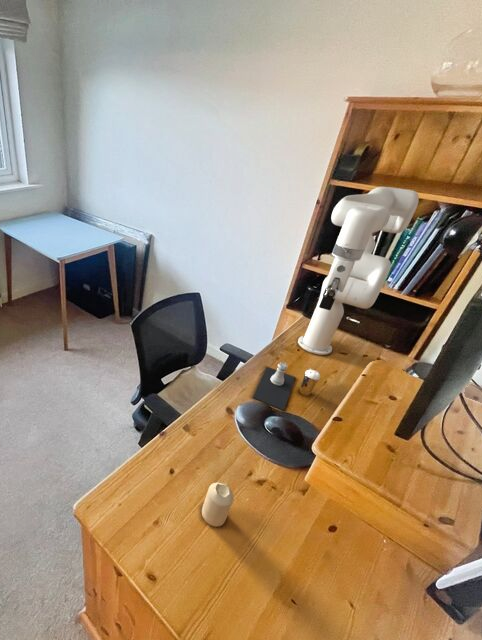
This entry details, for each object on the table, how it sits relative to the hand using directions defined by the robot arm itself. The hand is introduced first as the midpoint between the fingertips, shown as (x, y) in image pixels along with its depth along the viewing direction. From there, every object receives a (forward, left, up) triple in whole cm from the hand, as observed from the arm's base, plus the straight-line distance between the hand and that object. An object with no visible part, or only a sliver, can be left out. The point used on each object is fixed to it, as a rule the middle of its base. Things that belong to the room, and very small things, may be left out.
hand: (326, 302), depth 111 cm
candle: (+68, -7, -31) cm, 75 cm away
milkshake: (+8, +4, -31) cm, 32 cm away
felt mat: (+12, -5, -30) cm, 33 cm away
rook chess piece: (+9, -5, -30) cm, 32 cm away
